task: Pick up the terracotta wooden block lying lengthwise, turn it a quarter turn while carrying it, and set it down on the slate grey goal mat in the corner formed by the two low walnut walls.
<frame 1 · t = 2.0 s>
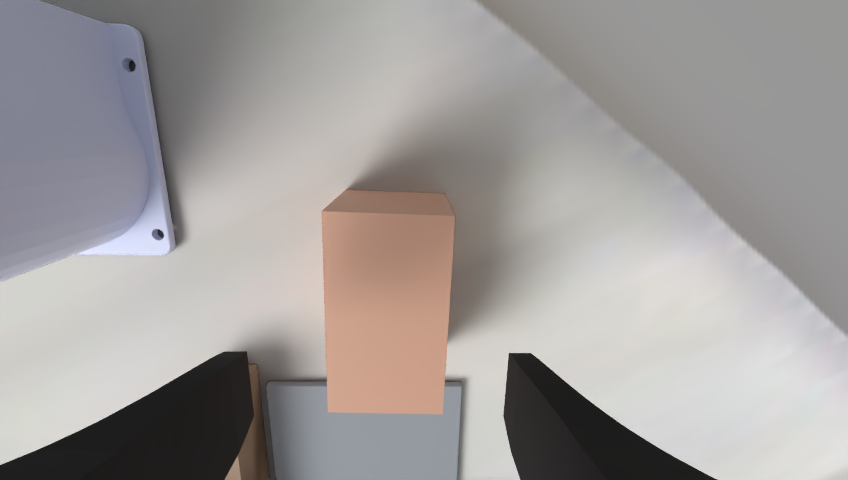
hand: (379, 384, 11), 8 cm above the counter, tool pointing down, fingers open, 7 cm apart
goal mat: (366, 436, 22), on the counter
block: (394, 272, 19), on the counter
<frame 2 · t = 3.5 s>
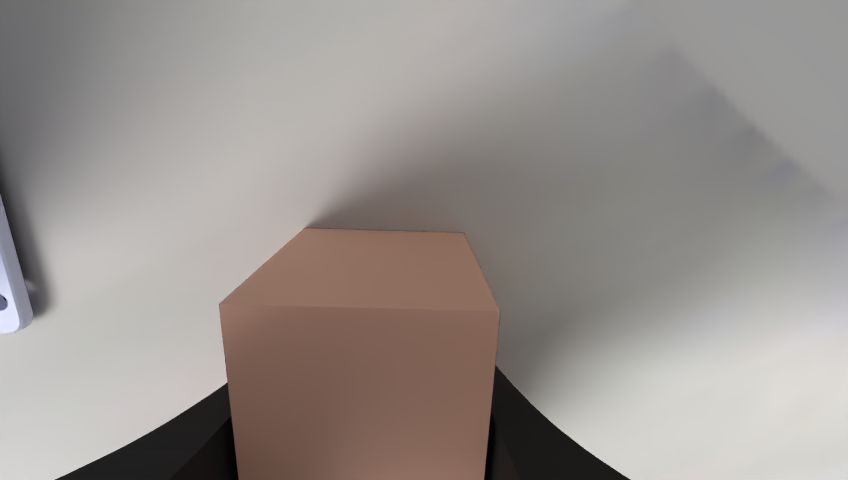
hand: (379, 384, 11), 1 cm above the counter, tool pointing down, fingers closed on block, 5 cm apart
block: (383, 355, 12), on the counter, touching gripper
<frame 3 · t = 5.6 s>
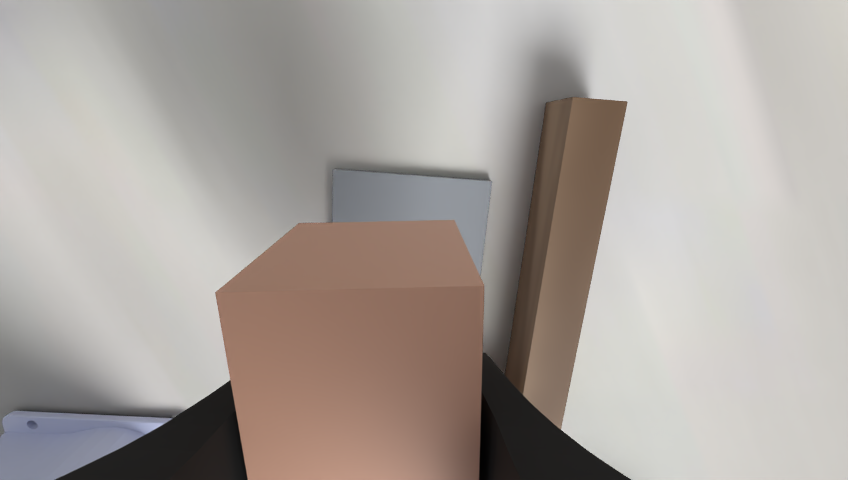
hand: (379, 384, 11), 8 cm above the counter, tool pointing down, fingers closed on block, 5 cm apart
brown l-shaped piece: (519, 400, 21), on the counter
goal mat: (406, 278, 19), on the counter
block: (383, 344, 13), point 7 cm above the counter, touching gripper
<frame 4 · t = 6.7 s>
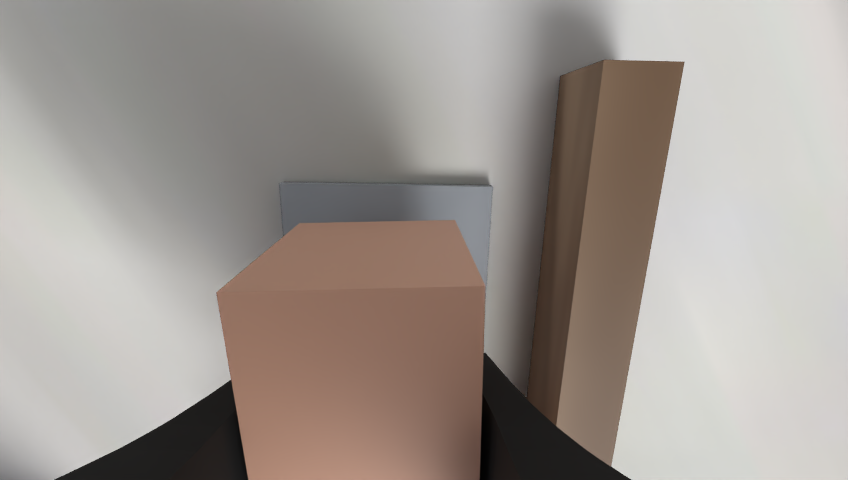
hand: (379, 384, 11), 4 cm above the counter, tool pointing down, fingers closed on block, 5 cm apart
brown l-shaped piece: (544, 459, 17), on the counter
goal mat: (388, 318, 15), on the counter
block: (383, 344, 13), point 2 cm above the counter, touching gripper
when the fingers open (3 cm above the counter, at t = 7.8 s): block stays where it is, resting on goal mat.
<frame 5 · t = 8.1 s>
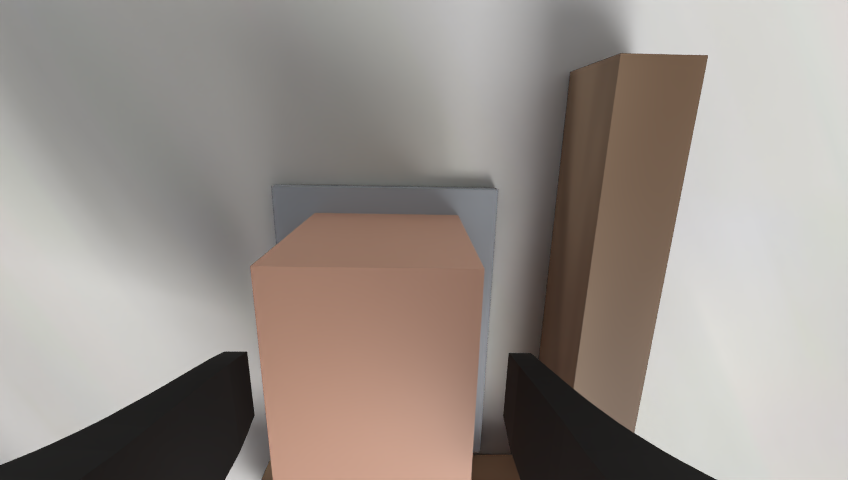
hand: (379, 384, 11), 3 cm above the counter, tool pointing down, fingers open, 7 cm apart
brown l-shaped piece: (550, 474, 16), on the counter
goal mat: (387, 327, 14), on the counter
block: (387, 328, 13), resting on goal mat
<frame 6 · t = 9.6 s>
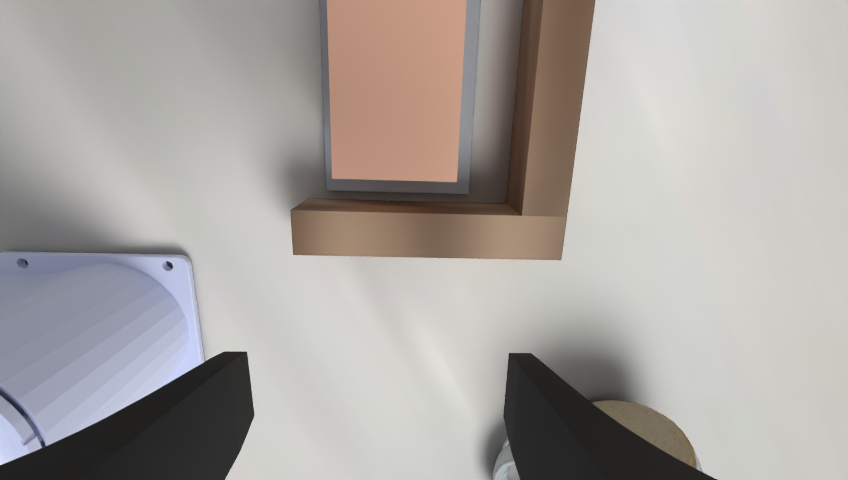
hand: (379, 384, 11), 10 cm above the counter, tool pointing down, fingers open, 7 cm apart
ceramic mug: (574, 453, 25), on the counter
brown l-shaped piece: (523, 223, 20), on the counter
goal mat: (399, 84, 18), on the counter
block: (400, 79, 18), resting on goal mat
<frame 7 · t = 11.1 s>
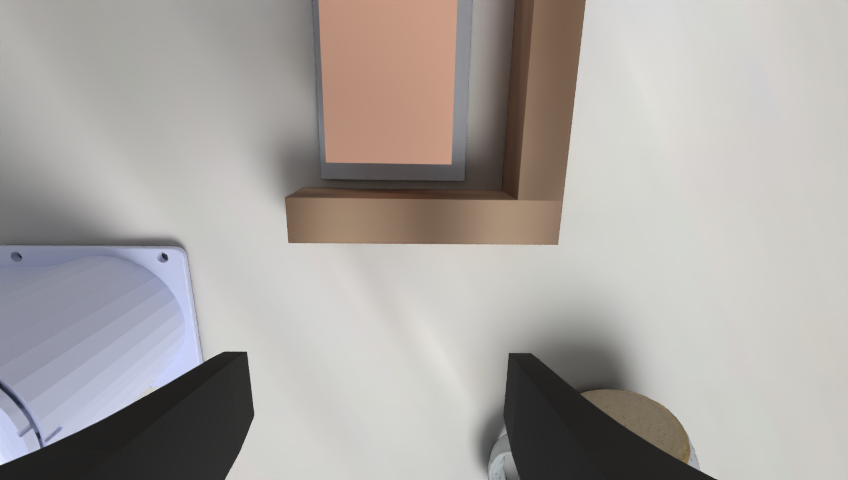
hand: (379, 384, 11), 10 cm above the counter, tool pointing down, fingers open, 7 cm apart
ceramic mug: (569, 443, 25), on the counter
brown l-shaped piece: (519, 209, 20), on the counter
goal mat: (393, 71, 18), on the counter
block: (393, 65, 18), resting on goal mat
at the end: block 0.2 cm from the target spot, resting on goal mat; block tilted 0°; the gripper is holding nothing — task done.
